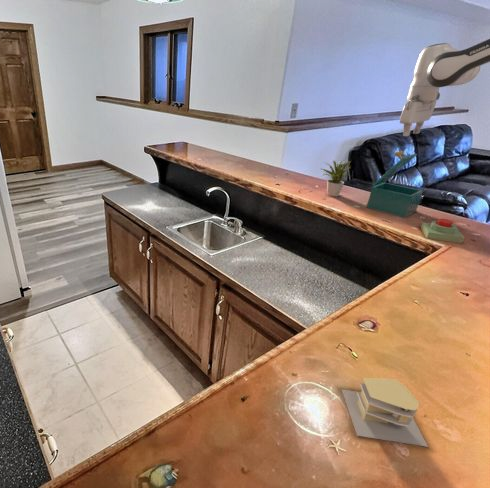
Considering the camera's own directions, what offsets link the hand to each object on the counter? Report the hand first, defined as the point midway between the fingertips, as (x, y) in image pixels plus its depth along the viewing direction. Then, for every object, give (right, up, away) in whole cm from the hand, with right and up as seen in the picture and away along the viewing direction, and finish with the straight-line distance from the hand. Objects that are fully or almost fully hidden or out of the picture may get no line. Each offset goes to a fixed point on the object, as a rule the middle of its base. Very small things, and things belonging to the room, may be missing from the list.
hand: (411, 134), depth 133 cm
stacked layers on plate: (-58, -70, -75) cm, 118 cm away
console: (+3, -38, -11) cm, 40 cm away
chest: (+1, -27, +13) cm, 30 cm away
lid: (-1, -12, +8) cm, 15 cm away
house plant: (-15, -18, +31) cm, 39 cm away
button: (+3, -35, -12) cm, 37 cm away
